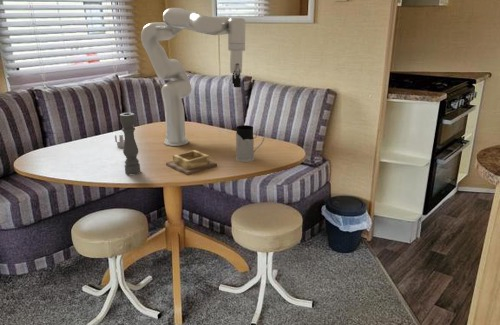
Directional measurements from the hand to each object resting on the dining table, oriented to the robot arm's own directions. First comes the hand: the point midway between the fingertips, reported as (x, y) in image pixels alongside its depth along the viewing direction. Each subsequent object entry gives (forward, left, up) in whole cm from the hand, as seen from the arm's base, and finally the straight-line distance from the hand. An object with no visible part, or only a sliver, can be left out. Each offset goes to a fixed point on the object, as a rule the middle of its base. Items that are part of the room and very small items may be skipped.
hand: (236, 85), depth 192 cm
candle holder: (-8, -51, -32) cm, 61 cm away
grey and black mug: (+12, -2, -32) cm, 34 cm away
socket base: (+2, -28, -32) cm, 43 cm away
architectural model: (-50, -40, -33) cm, 72 cm away
